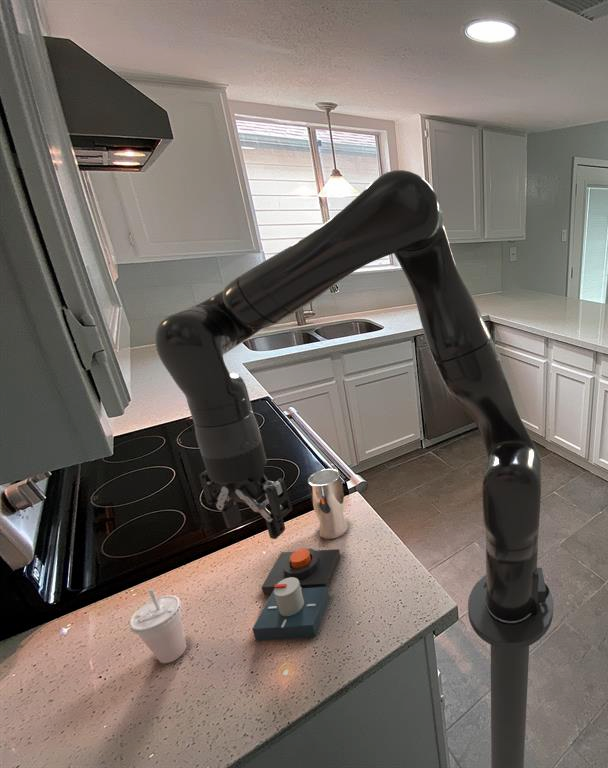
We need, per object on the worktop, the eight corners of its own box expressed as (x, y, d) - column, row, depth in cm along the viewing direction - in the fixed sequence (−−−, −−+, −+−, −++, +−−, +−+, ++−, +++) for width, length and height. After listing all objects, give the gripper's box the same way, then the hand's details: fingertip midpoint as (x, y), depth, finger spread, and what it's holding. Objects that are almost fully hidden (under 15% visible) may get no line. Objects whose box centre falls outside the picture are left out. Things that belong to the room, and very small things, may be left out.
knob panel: (330, 597, 80) (327, 585, 78) (315, 637, 72) (312, 624, 71) (276, 600, 79) (273, 588, 78) (255, 641, 71) (251, 629, 70)
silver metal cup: (330, 545, 92) (319, 490, 86) (311, 533, 96) (299, 479, 90) (355, 526, 98) (347, 474, 92) (337, 516, 101) (327, 464, 95)
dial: (307, 596, 76) (302, 575, 74) (299, 615, 73) (293, 593, 71) (285, 597, 76) (279, 576, 74) (275, 617, 72) (269, 595, 70)
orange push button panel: (340, 556, 89) (338, 542, 88) (327, 591, 81) (323, 576, 79) (283, 559, 88) (279, 545, 87) (263, 595, 80) (259, 580, 78)
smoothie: (203, 646, 70) (179, 586, 65) (158, 679, 65) (129, 617, 60) (185, 628, 73) (161, 569, 68) (141, 658, 68) (111, 598, 63)
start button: (313, 554, 85) (312, 548, 84) (307, 568, 82) (305, 561, 81) (295, 555, 85) (294, 549, 84) (288, 569, 81) (286, 562, 81)
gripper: (290, 438, 62) (309, 523, 68) (216, 424, 65) (240, 507, 71) (249, 464, 55) (274, 556, 61) (168, 448, 58) (199, 537, 65)
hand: (255, 529), depth 66 cm, fingers open, 8 cm apart
